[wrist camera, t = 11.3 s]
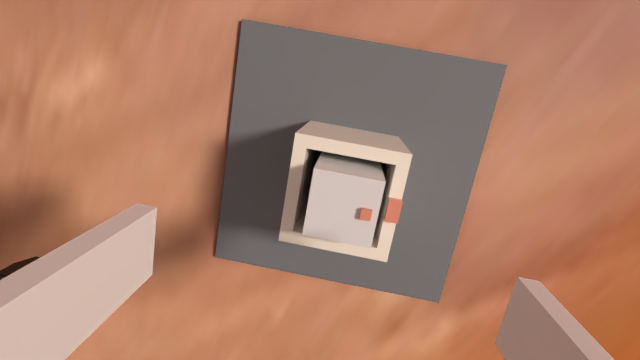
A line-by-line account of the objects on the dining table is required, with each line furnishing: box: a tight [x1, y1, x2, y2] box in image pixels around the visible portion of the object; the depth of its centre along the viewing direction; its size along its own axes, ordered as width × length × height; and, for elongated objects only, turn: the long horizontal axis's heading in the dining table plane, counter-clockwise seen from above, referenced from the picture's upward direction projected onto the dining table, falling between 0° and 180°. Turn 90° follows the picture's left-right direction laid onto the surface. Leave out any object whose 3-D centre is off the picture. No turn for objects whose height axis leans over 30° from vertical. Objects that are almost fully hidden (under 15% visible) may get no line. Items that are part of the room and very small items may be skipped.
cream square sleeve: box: [278, 121, 413, 262], centre depth 27 cm, size 7×7×8 cm
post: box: [215, 19, 507, 303], centre depth 26 cm, size 20×20×11 cm
